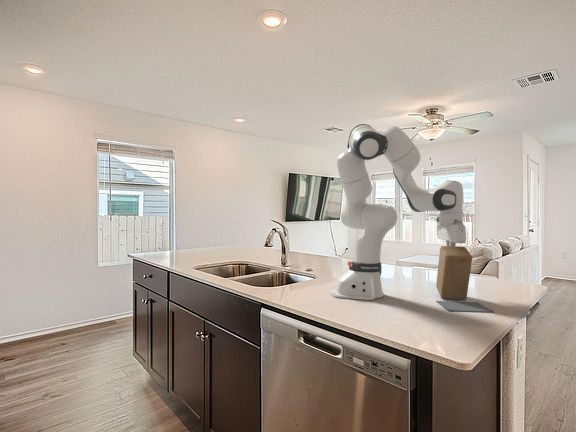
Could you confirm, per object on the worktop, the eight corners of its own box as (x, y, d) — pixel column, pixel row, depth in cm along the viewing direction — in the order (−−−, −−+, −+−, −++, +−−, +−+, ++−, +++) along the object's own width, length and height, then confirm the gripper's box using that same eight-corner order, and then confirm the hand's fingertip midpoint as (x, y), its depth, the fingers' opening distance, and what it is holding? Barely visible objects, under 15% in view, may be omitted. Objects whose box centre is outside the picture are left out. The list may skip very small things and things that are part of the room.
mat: (449, 311, 121) (449, 310, 121) (436, 301, 133) (436, 300, 133) (494, 312, 120) (494, 311, 120) (477, 302, 132) (477, 301, 132)
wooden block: (467, 301, 134) (473, 256, 128) (440, 299, 136) (445, 255, 130) (460, 288, 143) (465, 245, 137) (435, 286, 145) (439, 245, 139)
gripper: (471, 220, 130) (470, 255, 130) (448, 218, 150) (447, 248, 150) (454, 220, 130) (453, 255, 130) (434, 218, 150) (433, 248, 151)
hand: (450, 251), depth 141 cm, fingers closed
